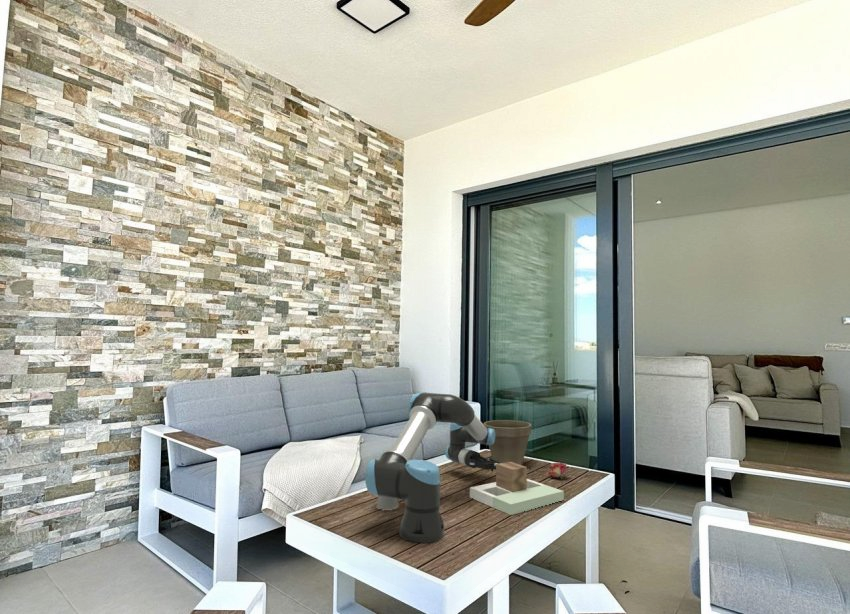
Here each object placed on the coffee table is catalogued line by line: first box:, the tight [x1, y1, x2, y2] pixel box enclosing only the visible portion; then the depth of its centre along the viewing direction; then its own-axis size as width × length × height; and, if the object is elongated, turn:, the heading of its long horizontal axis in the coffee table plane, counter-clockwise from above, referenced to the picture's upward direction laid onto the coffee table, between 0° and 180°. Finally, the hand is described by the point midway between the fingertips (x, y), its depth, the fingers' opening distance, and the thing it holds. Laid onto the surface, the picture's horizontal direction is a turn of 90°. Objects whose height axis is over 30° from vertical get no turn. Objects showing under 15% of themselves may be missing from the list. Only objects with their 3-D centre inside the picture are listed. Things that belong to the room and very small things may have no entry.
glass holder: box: [376, 495, 400, 509], centre depth 190 cm, size 9×14×15 cm, turn 104°
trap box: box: [469, 478, 565, 516], centre depth 200 cm, size 30×24×4 cm
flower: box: [547, 461, 568, 480], centre depth 231 cm, size 10×9×8 cm
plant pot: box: [483, 419, 532, 466], centre depth 254 cm, size 25×25×22 cm
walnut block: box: [495, 462, 528, 492], centre depth 203 cm, size 8×10×9 cm
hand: (505, 469), depth 208 cm, fingers closed
